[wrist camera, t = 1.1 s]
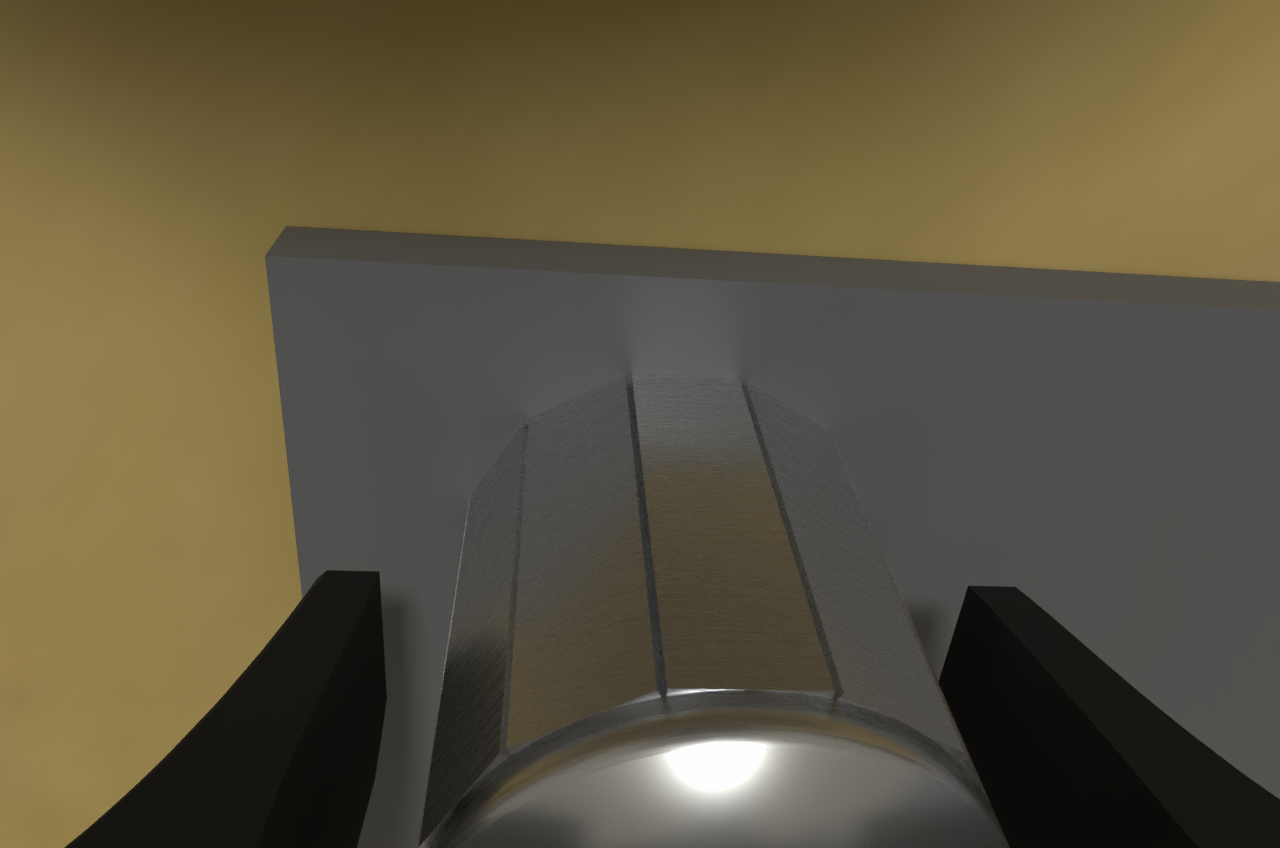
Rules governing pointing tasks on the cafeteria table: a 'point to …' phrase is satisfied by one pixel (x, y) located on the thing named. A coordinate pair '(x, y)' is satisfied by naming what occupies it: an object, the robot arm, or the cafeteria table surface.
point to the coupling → (686, 644)
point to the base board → (834, 399)
